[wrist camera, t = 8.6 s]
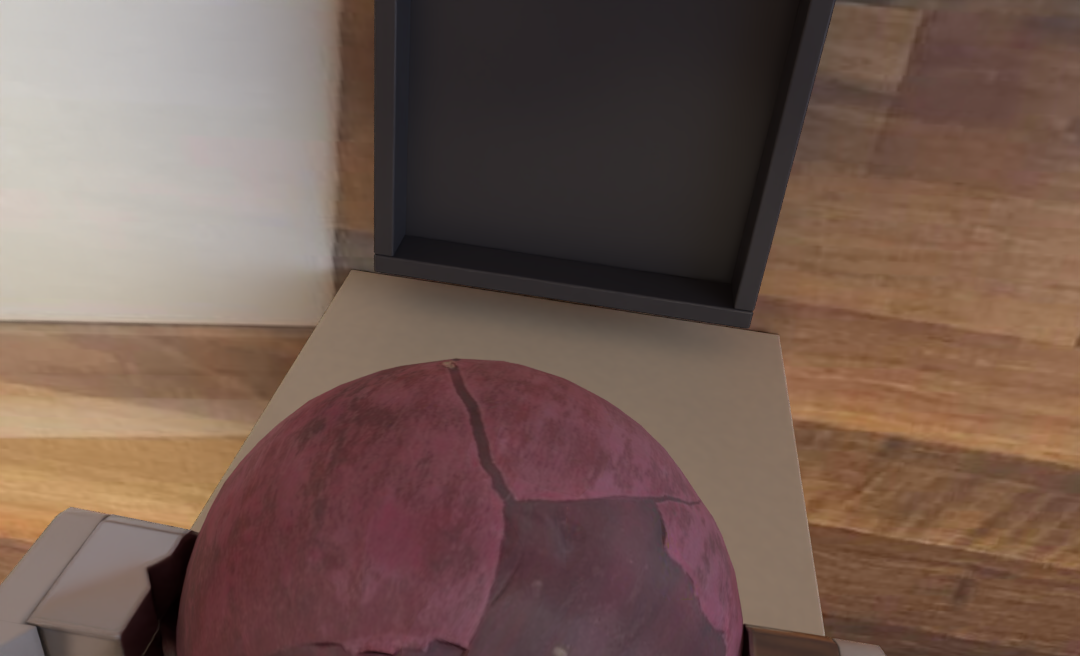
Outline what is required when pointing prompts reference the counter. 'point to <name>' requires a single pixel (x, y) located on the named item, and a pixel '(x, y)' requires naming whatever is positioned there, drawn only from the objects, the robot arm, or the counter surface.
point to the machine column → (620, 378)
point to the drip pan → (591, 145)
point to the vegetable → (459, 529)
